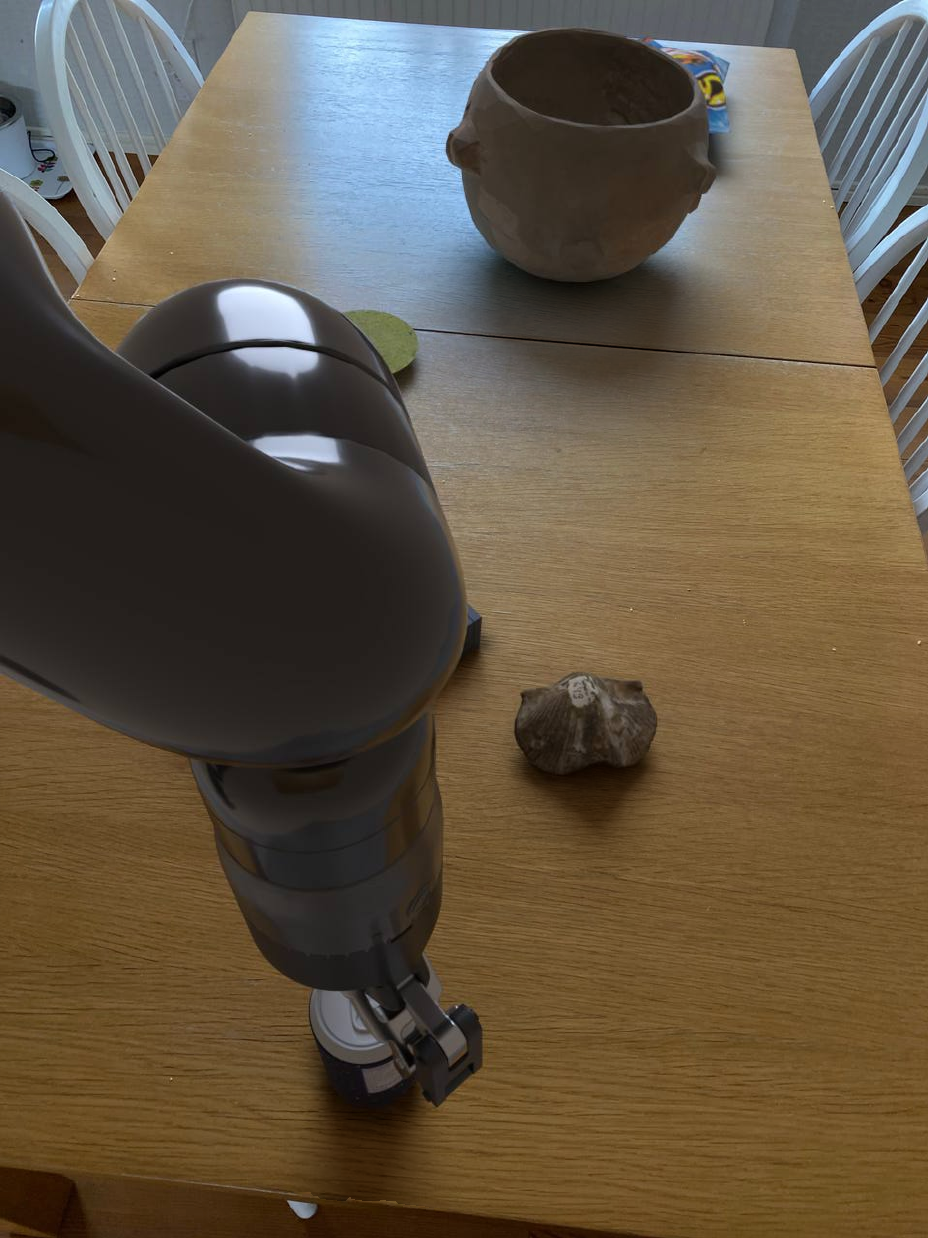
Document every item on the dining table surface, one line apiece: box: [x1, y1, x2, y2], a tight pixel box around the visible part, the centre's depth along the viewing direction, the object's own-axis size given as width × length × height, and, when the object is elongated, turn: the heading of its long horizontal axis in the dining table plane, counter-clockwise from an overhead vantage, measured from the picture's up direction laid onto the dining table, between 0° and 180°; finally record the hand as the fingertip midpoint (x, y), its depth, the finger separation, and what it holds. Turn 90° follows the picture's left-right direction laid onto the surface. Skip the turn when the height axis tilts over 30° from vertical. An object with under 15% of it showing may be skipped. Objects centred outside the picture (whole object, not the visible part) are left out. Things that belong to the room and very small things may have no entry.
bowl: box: [445, 26, 717, 283], centre depth 103 cm, size 27×29×20 cm
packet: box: [637, 35, 731, 135], centre depth 128 cm, size 17×24×8 cm
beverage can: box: [308, 988, 417, 1109], centre depth 52 cm, size 6×6×12 cm
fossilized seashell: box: [513, 670, 658, 776], centre depth 69 cm, size 8×7×10 cm
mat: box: [341, 309, 419, 375], centre depth 97 cm, size 11×11×2 cm
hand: (363, 986), depth 46 cm, fingers open, 8 cm apart
